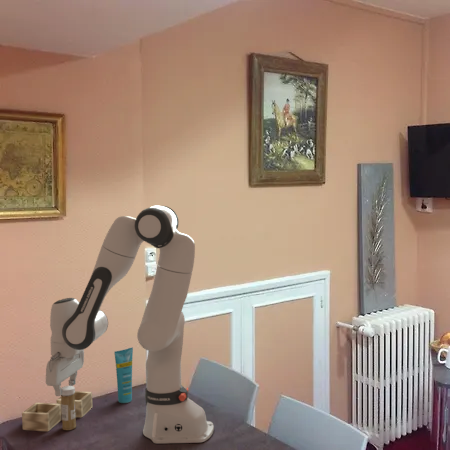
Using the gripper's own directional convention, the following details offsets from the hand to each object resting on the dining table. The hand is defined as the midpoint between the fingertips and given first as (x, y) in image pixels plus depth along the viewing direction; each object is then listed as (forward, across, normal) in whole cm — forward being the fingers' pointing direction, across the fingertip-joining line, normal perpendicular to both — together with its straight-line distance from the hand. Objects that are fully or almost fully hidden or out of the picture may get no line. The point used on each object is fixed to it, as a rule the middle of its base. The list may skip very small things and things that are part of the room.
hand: (65, 390), depth 191 cm
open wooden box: (+13, +13, +3) cm, 18 cm away
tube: (+12, +25, -11) cm, 30 cm away
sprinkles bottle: (+13, 0, -1) cm, 13 cm away
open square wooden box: (+13, +1, +9) cm, 16 cm away
